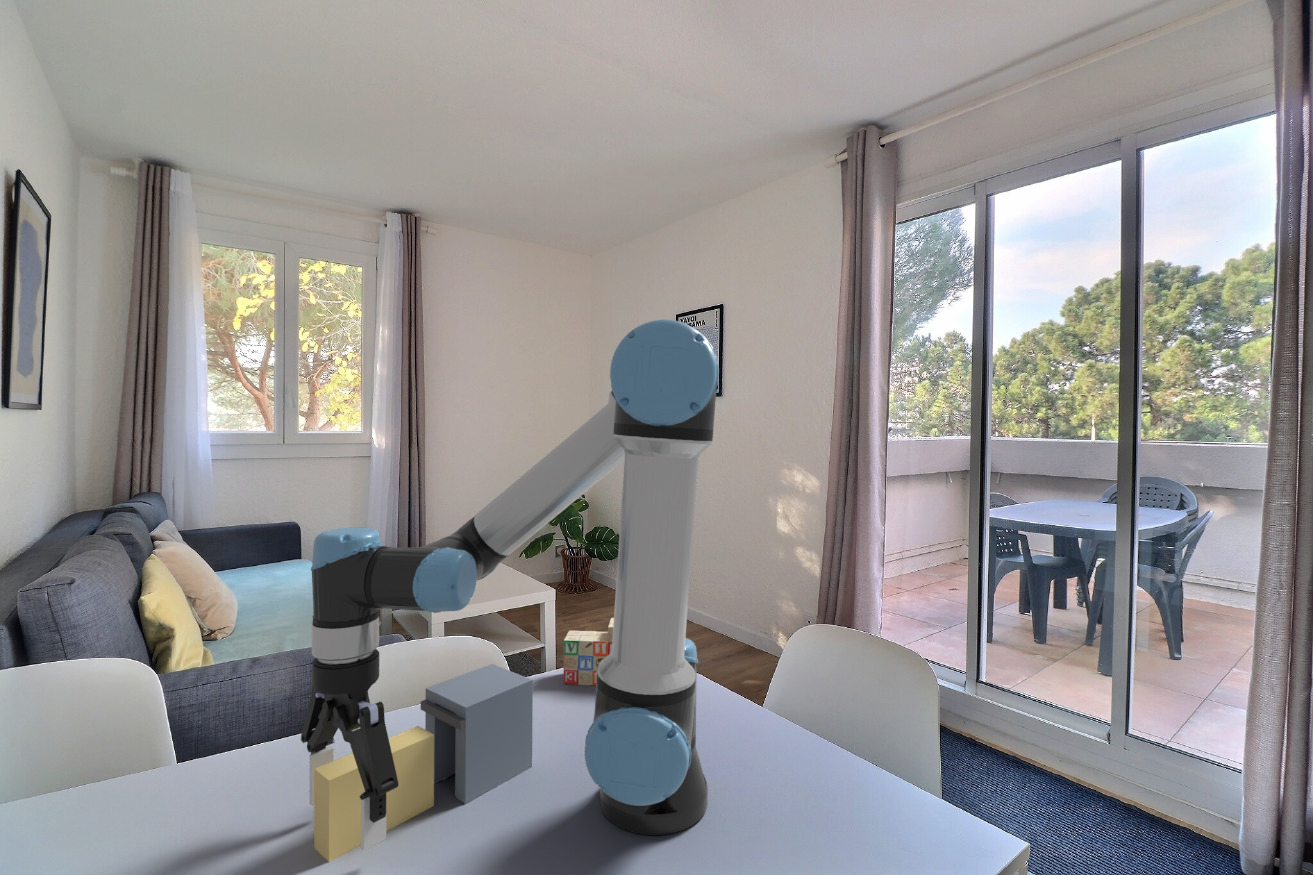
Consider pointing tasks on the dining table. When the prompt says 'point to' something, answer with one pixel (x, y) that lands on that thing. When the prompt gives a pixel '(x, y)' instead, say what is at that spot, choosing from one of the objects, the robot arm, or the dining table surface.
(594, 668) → the stack of blocks
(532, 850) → the dining table surface
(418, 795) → the upright yellow slab
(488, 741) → the dispenser
